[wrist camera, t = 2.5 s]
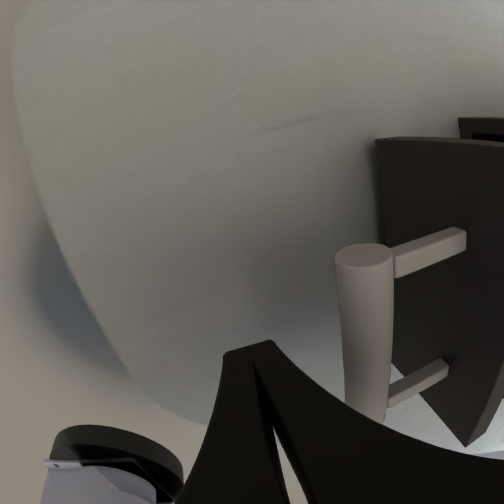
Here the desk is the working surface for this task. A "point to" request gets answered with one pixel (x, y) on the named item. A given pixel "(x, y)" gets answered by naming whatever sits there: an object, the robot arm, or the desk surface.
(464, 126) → the cabinet
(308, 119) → the desk surface
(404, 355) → the drawer
